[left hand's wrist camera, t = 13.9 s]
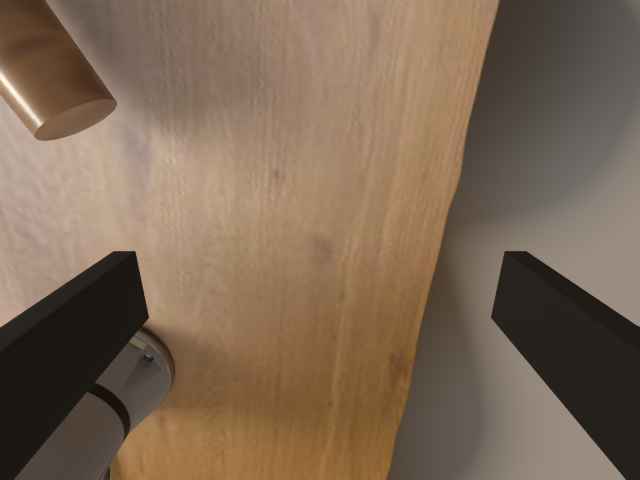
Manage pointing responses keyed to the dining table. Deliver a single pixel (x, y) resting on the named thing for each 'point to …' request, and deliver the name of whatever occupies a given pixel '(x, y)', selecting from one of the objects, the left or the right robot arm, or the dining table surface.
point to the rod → (47, 73)
